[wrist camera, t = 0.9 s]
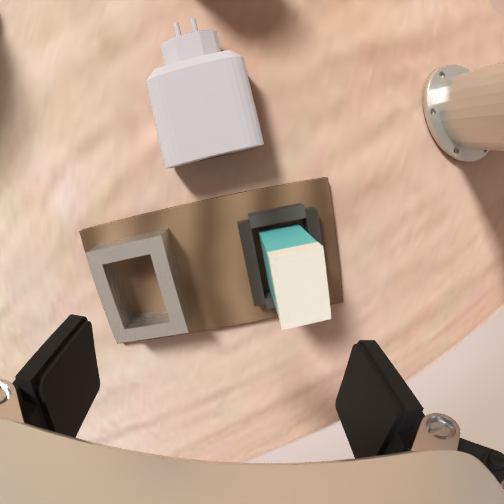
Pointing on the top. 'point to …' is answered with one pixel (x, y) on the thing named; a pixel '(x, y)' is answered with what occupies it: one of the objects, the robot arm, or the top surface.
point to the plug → (295, 275)
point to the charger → (201, 100)
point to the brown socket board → (224, 251)
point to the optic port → (114, 295)
